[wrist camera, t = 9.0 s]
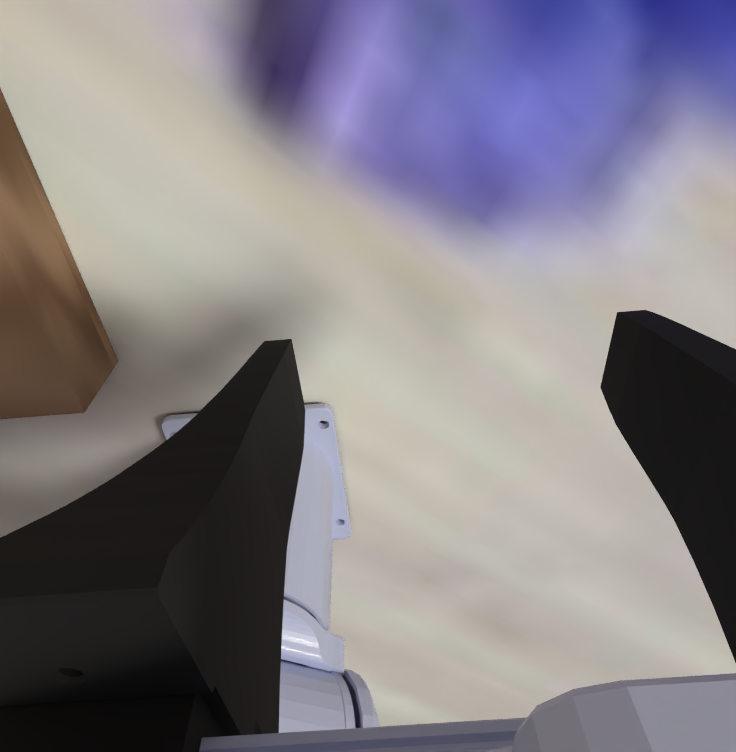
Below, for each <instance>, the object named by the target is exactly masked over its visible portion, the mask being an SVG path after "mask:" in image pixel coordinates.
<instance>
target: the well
mask: <svg viewBox="0 0 736 752" xmlns="http://www.w3.org/2000/svg"><path fill="white" fill-rule="evenodd" d="M117 362H118V360H117V358H116V356H115V353H114V351H113V349H112V346H111V344H110V342H109V339H108V337H107V335H106V332H105V330H104V328H103V325H102V323H101V321H100V318H99V316H98V314H97V311H96V309H95V307H94V305H93V302H92V300H91V298H90V295H89V293H88V291H87V288H86V286H85V284H84V281H83V279H82V277H81V274H80V272H79V270H78V267H77V265H76V263H75V261H74V258H73V256H72V254H71V251H70V249H69V247H68V244H67V242H66V240H65V237H64V235H63V233H62V230H61V228H60V226H59V223H58V221H57V219H56V217H55V214H54V212H53V210H52V207H51V205H50V203H49V200H48V198H47V196H46V193H45V191H44V189H43V186H42V184H41V182H40V179H39V177H38V175H37V172H36V170H35V168H34V166H33V163H32V161H31V159H30V156H29V154H28V152H27V149H26V147H25V145H24V142H23V140H22V138H21V135H20V133H19V131H18V128H17V126H16V124H15V122H14V119H13V117H12V115H11V112H10V110H9V108H8V105H7V103H6V101H5V98H4V96H3V94H2V91H1V89H0V419H8V418H21V417H33V416H46V415H59V414H71V413H84V412H85V411H86V409H87V408H88V406H89V405H90V403H91V402H92V400H93V399H94V397H95V396H96V394H97V392H98V391H99V389H100V388H101V386H102V385H103V383H104V382H105V380H106V379H107V377H108V376H109V374H110V373H111V371H112V370H113V368H114V367H115V365H116V363H117Z"/></svg>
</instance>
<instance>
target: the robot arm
mask: <svg viewBox="0 0 736 752" xmlns="http://www.w3.org/2000/svg"><path fill="white" fill-rule="evenodd" d="M601 390H602V392H603V395H604V397H605V400H606V402H607V405H608V407H609V410H610V412H611V414H612V416H613V419H614V421H615V423H616V425H617V427H618V428H619V430H620V432H621V434H622V435H623V437H624V438H625V440H626V442H627V443H628V445H629V447H630V448H631V450H632V452H633V453H634V455H635V456H636V458H637V460H638V461H639V463H640V464H641V466H642V468H643V469H644V471H645V472H646V474H647V476H648V477H649V479H650V480H651V482H652V484H653V485H654V487H655V489H656V490H657V492H658V493H659V495H660V497H661V498H662V500H663V501H664V503H665V505H666V506H667V508H668V510H669V512H670V514H671V515H672V517H673V519H674V521H675V523H676V525H677V527H678V529H679V531H680V533H681V535H682V537H683V539H684V541H685V544H686V546H687V548H688V550H689V552H690V554H691V556H692V558H693V560H694V563H695V565H696V567H697V569H698V572H699V574H700V576H701V579H702V581H703V583H704V586H705V588H706V590H707V592H708V595H709V597H710V599H711V602H712V604H713V606H714V609H715V611H716V614H717V616H718V619H719V621H720V624H721V626H722V629H723V632H724V634H725V637H726V639H727V642H728V644H729V647H730V649H731V652H732V654H733V657H734V659H735V662H736V349H734V348H731V347H729V346H727V345H725V344H723V343H721V342H718V341H716V340H714V339H712V338H710V337H708V336H705V335H703V334H701V333H699V332H697V331H695V330H692V329H690V328H688V327H686V326H684V325H682V324H679V323H677V322H675V321H673V320H670V319H668V318H666V317H663V316H661V315H658V314H656V313H653V312H650V311H647V310H640V311H628V312H617V316H616V320H615V325H614V329H613V334H612V338H611V343H610V347H609V352H608V356H607V361H606V365H605V370H604V374H603V379H602V383H601ZM320 421H327V422H328V423H325V424H323V423H320ZM161 427H162V430H163V433H164V435H165V438H166V441H165V442H164V443H163V444H161V445H160V446H159V447H157V448H156V449H155V450H153V451H152V452H151V453H149V454H148V455H146V456H145V457H143V458H142V459H140V460H139V461H137V462H136V463H135V464H133V465H132V466H130V467H129V468H127V469H126V470H124V471H123V472H121V473H120V474H118V475H117V476H116V477H114V478H112V479H111V480H109V481H107V482H106V483H104V484H102V485H101V486H99V487H98V488H96V489H94V490H93V491H91V492H89V493H87V494H86V495H84V496H82V497H80V498H78V499H77V500H75V501H73V502H71V503H70V504H68V505H66V506H64V507H62V508H60V509H58V510H56V511H55V512H53V513H51V514H49V515H47V516H45V517H43V518H40V519H38V520H36V521H34V522H32V523H30V524H28V525H26V526H24V527H22V528H20V529H18V530H16V531H14V532H12V533H10V534H8V535H6V536H3V537H1V538H0V752H736V673H735V674H719V675H703V676H687V677H672V678H656V679H640V680H624V681H616V682H611V683H605V684H599V685H594V686H588V687H583V688H577V689H573V690H570V691H568V692H566V693H564V694H562V695H559V696H557V697H555V698H553V699H551V700H548V701H546V702H544V703H542V704H540V705H538V706H536V708H535V709H534V710H533V711H532V712H531V714H530V715H529V716H528V717H527V718H513V719H497V720H481V721H464V722H448V723H432V724H416V725H400V726H383V727H380V725H379V720H378V716H377V713H376V710H375V707H374V704H373V700H372V697H371V694H370V691H369V689H368V687H367V685H366V683H365V681H364V680H363V679H362V678H361V676H360V675H358V674H357V673H355V672H354V671H352V670H347V669H344V638H342V637H340V636H337V635H334V634H332V633H330V614H331V586H332V557H333V540H339V539H346V538H348V537H350V535H351V524H350V517H349V511H348V504H347V498H346V491H345V485H344V478H343V472H342V465H341V459H340V452H339V445H338V439H337V432H336V426H335V419H334V413H333V409H332V407H330V406H329V405H327V404H322V403H320V404H307V405H304V401H303V396H302V391H301V386H300V381H299V375H298V370H297V365H296V360H295V355H294V350H293V344H292V339H286V340H274V341H264V342H263V343H262V345H261V346H260V347H259V348H258V349H257V350H256V351H255V353H254V354H253V355H252V356H251V357H250V358H249V359H248V361H247V362H246V363H245V364H244V365H243V366H242V368H241V369H240V370H239V371H238V372H237V373H236V374H235V376H234V377H233V378H232V379H231V380H230V381H229V382H228V383H227V384H226V385H225V387H224V388H223V389H222V390H221V391H220V392H219V393H218V394H217V395H216V396H215V397H214V398H213V399H212V400H211V401H210V402H209V403H208V404H207V405H206V406H205V407H204V408H203V409H202V410H201V411H200V412H199V413H193V414H180V415H170V416H167V417H165V418H164V420H163V422H162V425H161ZM173 432H176V433H175V434H174V433H173ZM339 519H342V520H339Z"/></svg>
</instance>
